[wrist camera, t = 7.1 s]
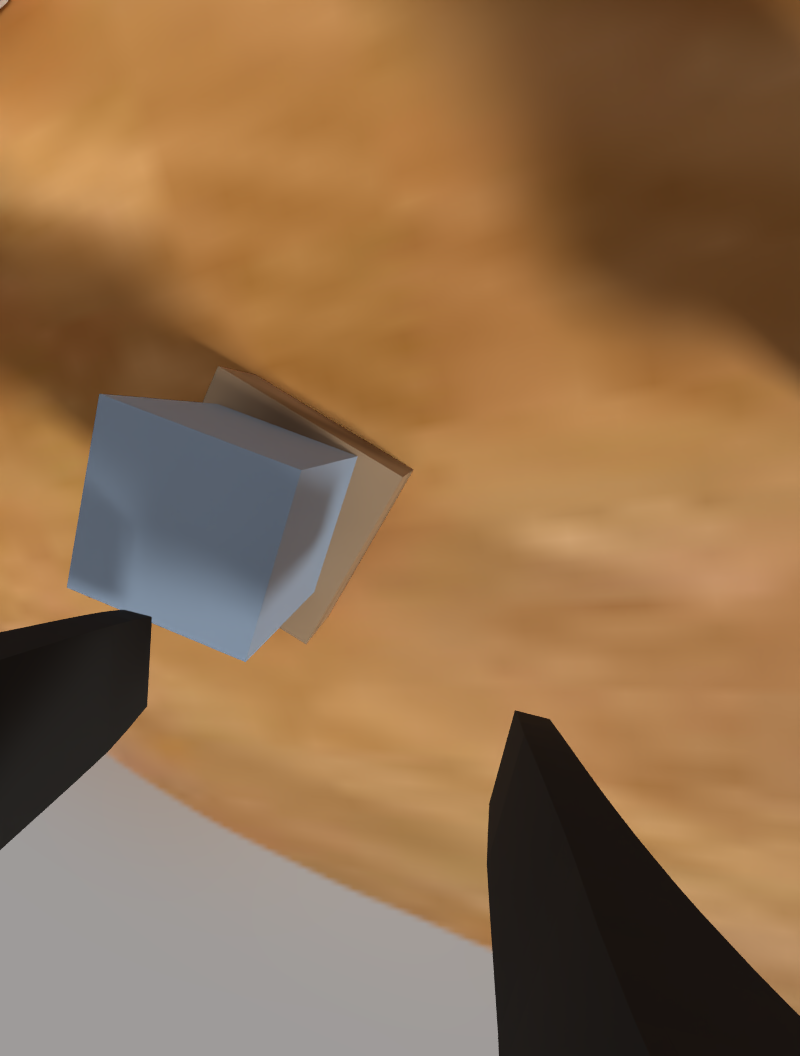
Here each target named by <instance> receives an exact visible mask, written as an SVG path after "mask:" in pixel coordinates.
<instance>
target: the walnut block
mask: <svg viewBox="0 0 800 1056" xmlns="http://www.w3.org/2000/svg"><path fill="white" fill-rule="evenodd" d="M203 403H213V404H219V405H222V406H225V407H227V408H230V409H233V410H235V411H238V412H241V413H243V414H246V415H249V416H251V417H254V418H257V419H259V420H262V421H265V422H268V423H270V424H273V425H276V426H278V427H281V428H284V429H286V430H289V431H292V432H294V433H297V434H300V435H302V436H305V437H308V438H310V439H313V440H316V441H318V442H321V443H324V444H326V445H329V446H332V447H334V448H337V449H340V450H343V451H345V452H348V453H351V454H353V455H356V456H358V457H357V460H356V463H355V466H354V469H353V473H352V476H351V479H350V482H349V485H348V488H347V491H346V494H345V497H344V501H343V504H342V507H341V510H340V513H339V516H338V519H337V522H336V525H335V529H334V532H333V535H332V538H331V541H330V544H329V547H328V550H327V553H326V557H325V560H324V563H323V566H322V569H321V572H320V575H319V578H318V581H317V585H316V588H315V591H314V593H313V594H312V595H311V596H310V597H309V598H308V599H307V600H306V601H305V602H304V603H303V604H302V605H301V606H300V607H299V608H298V609H297V610H296V611H295V612H294V613H293V614H292V615H291V616H290V617H289V618H288V619H287V620H286V621H285V622H284V623H283V624H282V625H281V626H280V627H279V628H281V629H282V630H284V631H286V632H287V633H289V634H291V635H292V636H294V637H295V638H297V639H299V640H300V641H302V642H303V643H305V644H307V643H308V641H309V640H310V639H311V638H312V636H313V635H314V634H315V632H316V631H317V630H318V629H319V627H320V626H321V625H322V623H323V622H324V621H325V620H326V618H327V617H328V616H329V614H330V612H331V611H332V609H333V607H334V606H335V604H336V602H337V600H338V599H339V597H340V595H341V593H342V592H343V590H344V588H345V587H346V585H347V583H348V581H349V580H350V578H351V576H352V575H353V573H354V571H355V569H356V568H357V566H358V564H359V563H360V561H361V559H362V557H363V556H364V554H365V552H366V551H367V549H368V547H369V545H370V544H371V542H372V540H373V539H374V537H375V535H376V533H377V532H378V530H379V528H380V527H381V525H382V523H383V521H384V520H385V518H386V516H387V515H388V513H389V511H390V509H391V508H392V506H393V504H394V502H395V501H396V499H397V497H398V496H399V494H400V492H401V490H402V489H403V487H404V485H405V484H406V482H407V480H408V478H409V477H410V475H411V473H412V472H413V469H411V468H410V467H408V466H406V465H405V464H403V463H401V462H400V461H398V460H396V459H395V458H393V457H391V456H390V455H388V454H386V453H385V452H383V451H381V450H380V449H378V448H376V447H375V446H373V445H371V444H370V443H368V442H366V441H365V440H363V439H361V438H360V437H358V436H356V435H355V434H353V433H351V432H350V431H348V430H346V429H345V428H343V427H341V426H340V425H338V424H336V423H335V422H333V421H331V420H330V419H328V418H327V417H325V416H323V415H322V414H320V413H318V412H317V411H315V410H313V409H312V408H310V407H308V406H307V405H305V404H303V403H302V402H300V401H298V400H297V399H295V398H293V397H292V396H290V395H288V394H287V393H285V392H283V391H282V390H280V389H278V388H277V387H275V386H273V385H272V384H270V383H268V382H267V381H265V380H263V379H262V378H260V377H258V376H257V375H255V374H250V373H246V372H242V371H238V370H233V369H229V368H225V367H221V366H218V368H217V370H216V372H215V375H214V377H213V379H212V382H211V384H210V386H209V389H208V391H207V393H206V396H205V398H204V400H203Z"/></svg>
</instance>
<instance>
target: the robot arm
mask: <svg viewBox="0 0 800 1056" xmlns="http://www.w3.org/2000/svg"><path fill="white" fill-rule="evenodd" d="M151 623H152V617H151V616H147V615H143V614H139V613H135V612H132V611H128V610H116V611H107V612H101V613H94V614H89V615H83V616H78V617H73V618H68V619H63V620H58V621H53V622H48V623H43V624H38V625H34V626H29V627H24V628H19V629H14V630H9V631H5V632H0V850H1V849H2V848H3V847H4V846H5V845H6V844H7V843H8V842H9V841H10V840H12V839H13V838H14V837H15V836H16V835H17V834H18V833H19V832H21V831H22V829H24V828H25V827H26V826H27V825H28V824H29V823H30V822H31V821H33V820H34V819H35V818H36V817H37V816H38V815H39V814H40V813H42V812H43V811H44V810H45V809H46V808H47V807H48V806H49V805H50V804H51V803H53V802H54V801H55V800H56V799H57V798H58V797H59V796H60V795H61V794H63V792H65V791H66V790H67V789H68V788H69V787H70V786H71V785H72V784H73V783H75V782H76V781H77V780H78V779H79V778H80V777H81V776H82V775H83V774H84V773H85V772H86V771H88V770H89V769H90V768H91V767H92V766H93V765H94V764H95V763H96V762H97V761H98V760H99V759H100V758H101V757H103V756H104V755H105V754H106V753H107V752H108V751H109V750H110V749H111V748H112V746H113V745H114V744H115V743H116V742H117V741H118V740H119V739H120V738H121V736H122V735H123V734H124V733H125V732H126V731H127V730H128V728H129V727H130V726H131V725H132V724H133V722H134V721H135V720H136V719H137V718H138V716H139V715H140V714H141V713H142V712H143V710H144V709H145V708H146V707H147V697H148V678H149V660H150V642H151ZM487 873H488V890H489V906H490V921H491V936H492V951H493V965H494V980H495V995H496V1010H497V1024H498V1042H499V1056H800V1016H799V1015H798V1014H797V1013H796V1012H795V1011H794V1010H793V1009H792V1008H791V1007H790V1006H789V1005H788V1004H787V1003H786V1002H785V1001H784V1000H783V999H782V998H781V997H780V996H779V995H778V994H777V993H776V992H775V991H774V990H773V989H772V988H771V987H770V985H769V984H768V983H767V982H766V981H765V980H764V979H763V978H762V977H761V976H760V975H759V974H758V973H757V972H756V971H755V970H754V969H753V968H752V967H751V966H750V965H749V964H748V963H747V962H746V960H745V959H744V958H743V957H742V956H741V955H740V954H739V953H738V952H737V951H736V950H735V949H734V948H733V947H732V945H731V944H730V943H729V942H728V941H727V940H726V939H725V938H724V937H723V936H722V935H721V934H720V933H719V932H718V930H717V929H716V928H715V927H714V926H713V925H712V924H711V923H710V922H709V921H708V920H707V919H706V918H705V916H704V915H703V914H702V913H701V912H700V911H699V910H698V909H697V908H696V906H695V905H694V904H693V903H692V902H691V901H690V900H689V899H688V897H687V896H686V895H685V894H684V893H683V892H682V891H681V889H680V888H679V887H678V886H677V885H676V884H675V882H674V881H673V880H672V879H671V878H670V876H669V875H668V874H667V873H666V872H665V870H664V869H663V868H662V867H661V866H660V864H659V863H658V862H657V861H656V860H655V858H654V857H653V856H652V855H651V854H650V852H649V851H648V850H647V849H646V848H645V846H644V845H643V844H642V843H641V842H640V840H639V839H638V838H637V837H636V835H635V834H634V833H633V831H632V830H631V829H630V828H629V826H628V825H627V824H626V823H625V821H624V820H623V819H622V818H621V816H620V815H619V814H618V812H617V811H616V810H615V808H614V807H613V806H612V804H611V803H610V802H609V800H608V799H607V798H606V796H605V795H604V794H603V792H602V791H601V790H600V788H599V787H598V786H597V784H596V783H595V782H594V780H593V779H592V777H591V776H590V775H589V773H588V772H587V771H586V769H585V768H584V766H583V765H582V764H581V762H580V761H579V759H578V758H577V757H576V755H575V754H574V752H573V751H572V750H571V748H570V747H569V745H568V744H567V743H566V741H565V740H564V738H563V737H562V735H561V734H560V733H559V731H558V730H557V729H556V727H555V726H554V725H553V723H552V722H551V721H550V719H547V718H543V717H539V716H535V715H531V714H527V713H523V712H519V711H516V710H515V713H514V716H513V720H512V723H511V727H510V731H509V734H508V738H507V742H506V745H505V749H504V752H503V756H502V760H501V763H500V767H499V771H498V774H497V778H496V781H495V785H494V789H493V792H492V796H491V799H490V803H489V823H488V848H487Z"/></svg>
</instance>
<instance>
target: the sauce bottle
mask: <svg viewBox="0 0 800 1056" xmlns="http://www.w3.org/2000/svg"><path fill="white" fill-rule="evenodd" d="M7 2H8V0H0V9H1V8H2V7H3V6H4V5H5V4H6V3H7Z"/></svg>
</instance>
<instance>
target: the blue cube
mask: <svg viewBox="0 0 800 1056" xmlns="http://www.w3.org/2000/svg"><path fill="white" fill-rule="evenodd" d="M357 457H358V456H356V455H353V454H351V453H348V452H345V451H343V450H340V449H337V448H334V447H332V446H329V445H326V444H324V443H321V442H318V441H316V440H313V439H310V438H308V437H305V436H302V435H300V434H297V433H294V432H292V431H289V430H286V429H284V428H281V427H278V426H276V425H273V424H270V423H268V422H265V421H262V420H259V419H257V418H254V417H251V416H249V415H246V414H243V413H241V412H238V411H235V410H233V409H230V408H227V407H225V406H222V405H219V404H213V403H201V402H190V401H178V400H167V399H155V398H144V397H132V396H121V395H109V394H99V400H98V405H97V411H96V417H95V423H94V429H93V435H92V441H91V447H90V453H89V459H88V465H87V471H86V477H85V483H84V489H83V495H82V501H81V507H80V513H79V519H78V525H77V531H76V536H75V542H74V548H73V554H72V560H71V566H70V572H69V578H68V584H67V588H69V589H72V590H74V591H77V592H79V593H81V594H84V595H86V596H89V597H91V598H93V599H96V600H98V601H101V602H103V603H105V604H108V605H110V606H113V607H115V608H117V609H120V610H128V611H132V612H135V613H139V614H143V615H147V616H151V617H152V623H153V624H156V625H158V626H160V627H163V628H165V629H168V630H170V631H172V632H175V633H177V634H180V635H182V636H184V637H187V638H189V639H192V640H194V641H196V642H199V643H201V644H204V645H206V646H208V647H211V648H213V649H216V650H218V651H220V652H223V653H225V654H228V655H230V656H232V657H235V658H237V659H240V660H242V661H244V662H246V661H247V660H248V659H249V658H250V657H251V656H252V655H253V654H254V653H255V652H256V651H257V650H258V649H259V648H260V647H261V646H262V645H263V644H264V643H265V642H266V641H267V640H268V639H269V638H270V637H271V636H272V635H273V634H274V633H275V632H276V630H277V629H278V628H279V627H280V626H281V625H282V624H283V623H284V622H285V621H286V620H287V619H288V618H289V617H290V616H291V615H292V614H293V613H294V612H295V611H296V610H297V609H298V608H299V607H300V606H301V605H302V604H303V603H304V602H305V601H306V600H307V599H308V598H309V597H310V596H311V595H312V594H313V593H314V591H315V588H316V585H317V581H318V578H319V575H320V572H321V569H322V566H323V563H324V560H325V557H326V553H327V550H328V547H329V544H330V541H331V538H332V535H333V532H334V529H335V525H336V522H337V519H338V516H339V513H340V510H341V507H342V504H343V501H344V497H345V494H346V491H347V488H348V485H349V482H350V479H351V476H352V473H353V469H354V466H355V463H356V460H357Z"/></svg>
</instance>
